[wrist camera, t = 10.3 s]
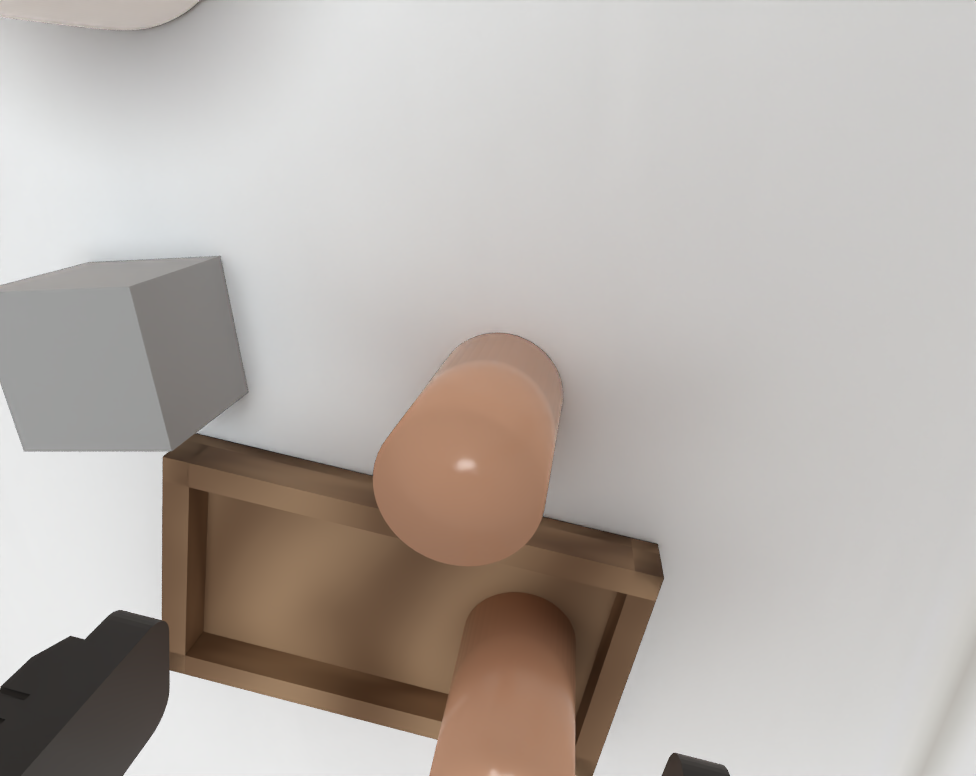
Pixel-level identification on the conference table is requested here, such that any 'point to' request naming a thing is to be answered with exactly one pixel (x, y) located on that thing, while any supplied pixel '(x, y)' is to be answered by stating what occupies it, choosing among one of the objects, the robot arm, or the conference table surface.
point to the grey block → (119, 354)
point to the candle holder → (97, 12)
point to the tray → (369, 593)
